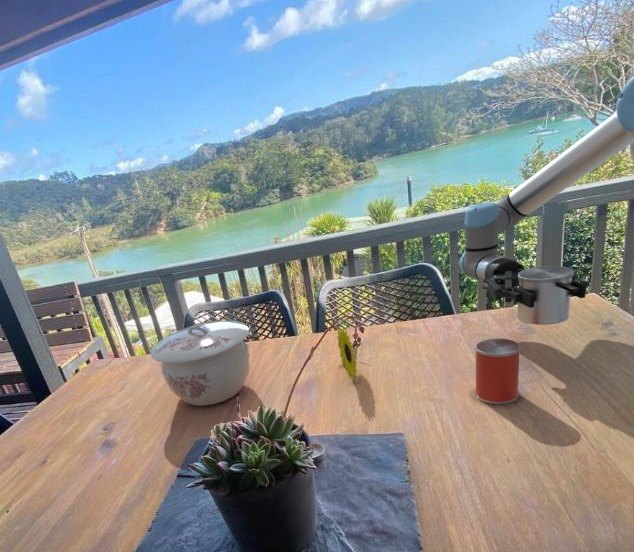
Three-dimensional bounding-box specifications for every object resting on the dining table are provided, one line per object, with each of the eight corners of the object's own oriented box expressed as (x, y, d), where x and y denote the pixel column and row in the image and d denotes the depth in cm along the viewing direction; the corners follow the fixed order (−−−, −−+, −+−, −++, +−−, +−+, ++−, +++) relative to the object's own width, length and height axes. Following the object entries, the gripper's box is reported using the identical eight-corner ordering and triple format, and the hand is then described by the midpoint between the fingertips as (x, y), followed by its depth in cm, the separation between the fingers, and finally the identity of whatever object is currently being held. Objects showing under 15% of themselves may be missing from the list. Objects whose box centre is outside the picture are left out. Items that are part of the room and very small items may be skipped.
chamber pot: (265, 407, 110) (248, 331, 102) (160, 428, 112) (136, 355, 104) (257, 363, 135) (244, 300, 127) (172, 381, 137) (154, 320, 130)
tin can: (505, 383, 95) (506, 335, 91) (526, 400, 88) (528, 349, 84) (469, 389, 96) (468, 342, 92) (486, 407, 89) (486, 357, 85)
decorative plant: (343, 322, 132) (315, 332, 106) (362, 317, 129) (338, 326, 103) (355, 369, 133) (330, 390, 106) (374, 365, 130) (354, 386, 104)
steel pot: (552, 306, 98) (554, 263, 95) (598, 327, 85) (603, 278, 81) (507, 314, 100) (508, 272, 96) (546, 336, 86) (549, 288, 83)
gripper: (545, 278, 109) (614, 303, 88) (455, 295, 112) (500, 324, 91) (547, 248, 106) (618, 267, 85) (454, 267, 109) (501, 289, 88)
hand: (557, 296), depth 88 cm, fingers closed on steel pot, 9 cm apart
